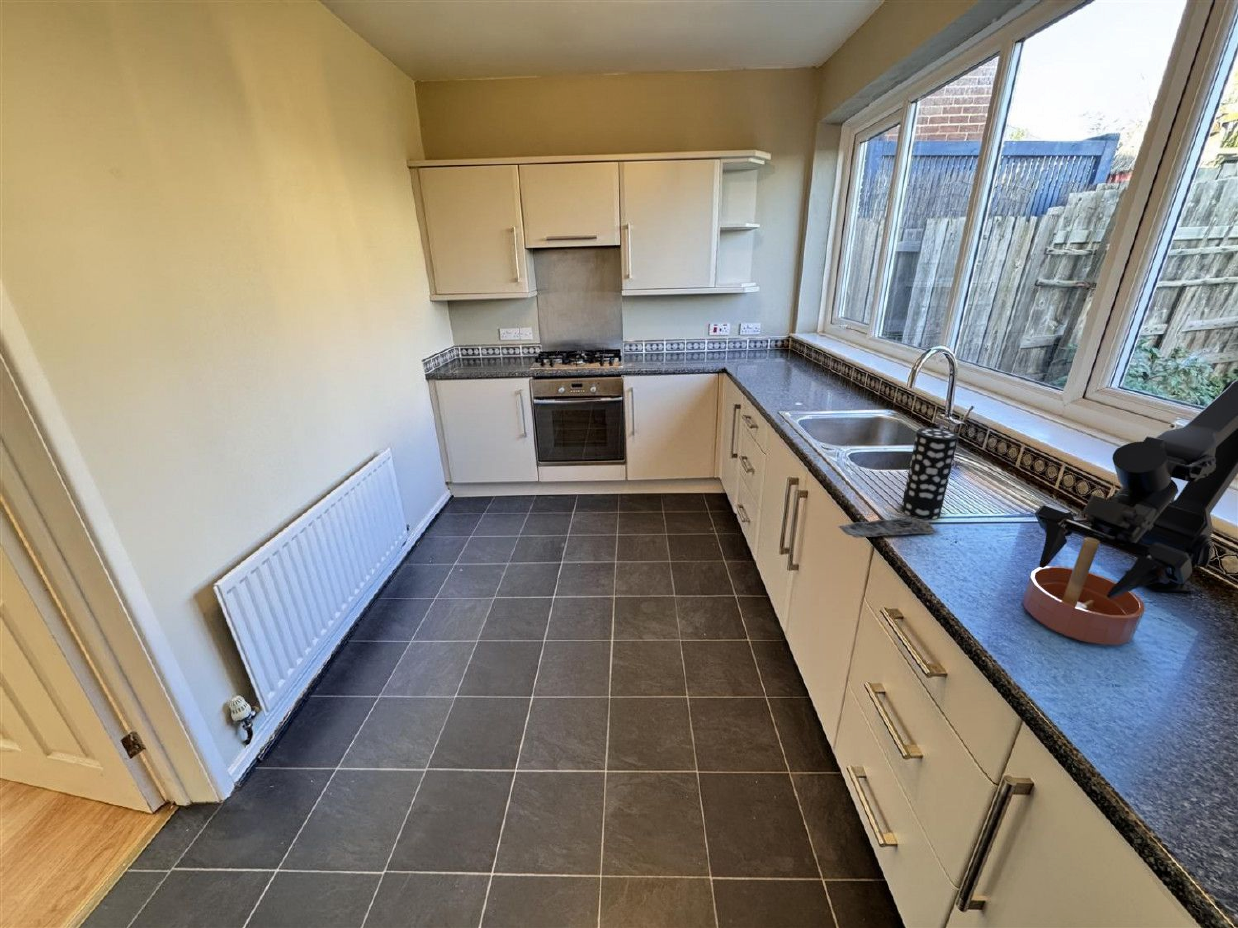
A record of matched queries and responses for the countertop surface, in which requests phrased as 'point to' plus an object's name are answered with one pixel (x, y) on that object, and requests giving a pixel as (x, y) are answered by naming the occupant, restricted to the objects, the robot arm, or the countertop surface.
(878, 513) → the countertop surface
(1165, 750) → the countertop surface
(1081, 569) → the stirrer
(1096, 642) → the bowl
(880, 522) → the driftwood
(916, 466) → the spotted tube
